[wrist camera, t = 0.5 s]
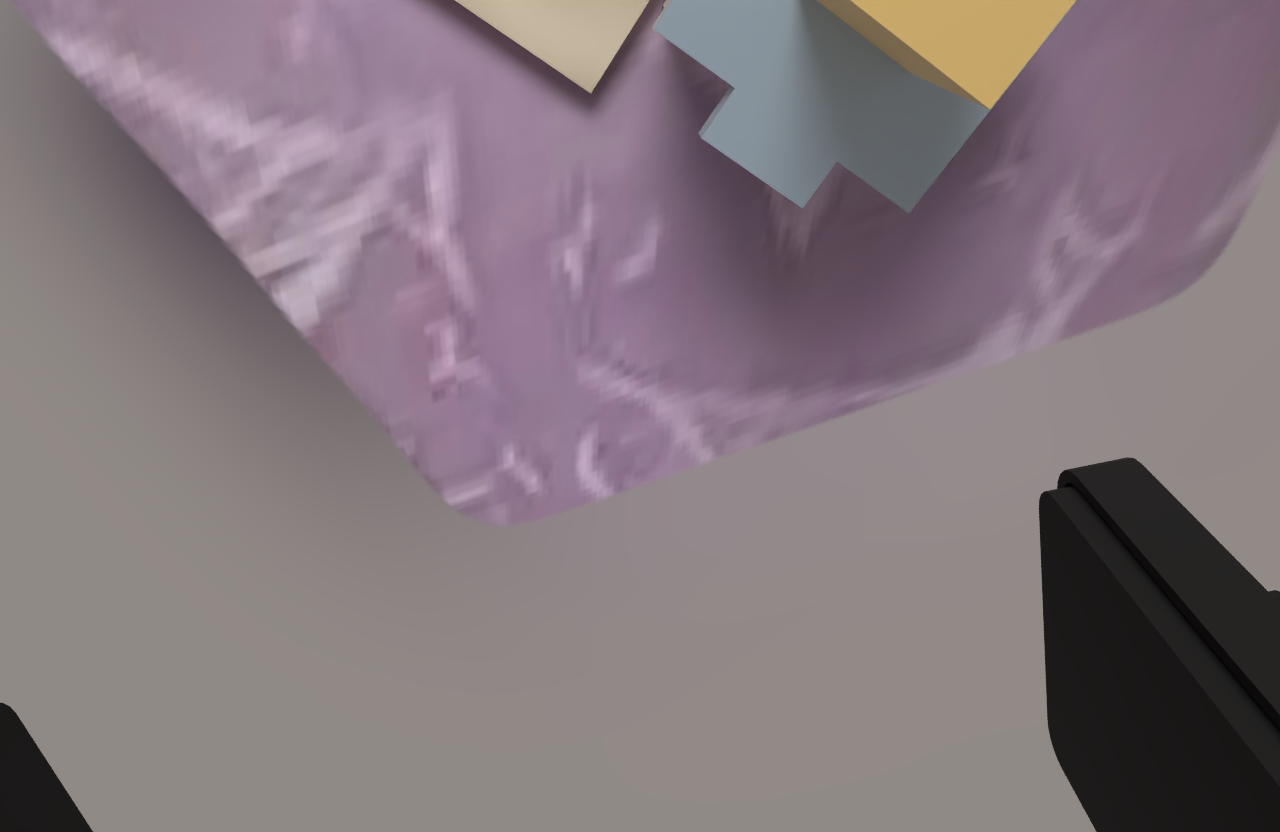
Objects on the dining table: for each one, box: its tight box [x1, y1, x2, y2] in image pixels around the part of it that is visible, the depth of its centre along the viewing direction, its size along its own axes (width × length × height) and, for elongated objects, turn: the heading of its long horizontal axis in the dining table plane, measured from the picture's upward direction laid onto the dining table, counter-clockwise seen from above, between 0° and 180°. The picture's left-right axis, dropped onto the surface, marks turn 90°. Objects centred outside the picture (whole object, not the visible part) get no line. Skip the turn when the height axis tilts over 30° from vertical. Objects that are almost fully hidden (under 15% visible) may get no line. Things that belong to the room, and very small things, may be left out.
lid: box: [652, 0, 1077, 213], centre depth 25 cm, size 11×9×7 cm
